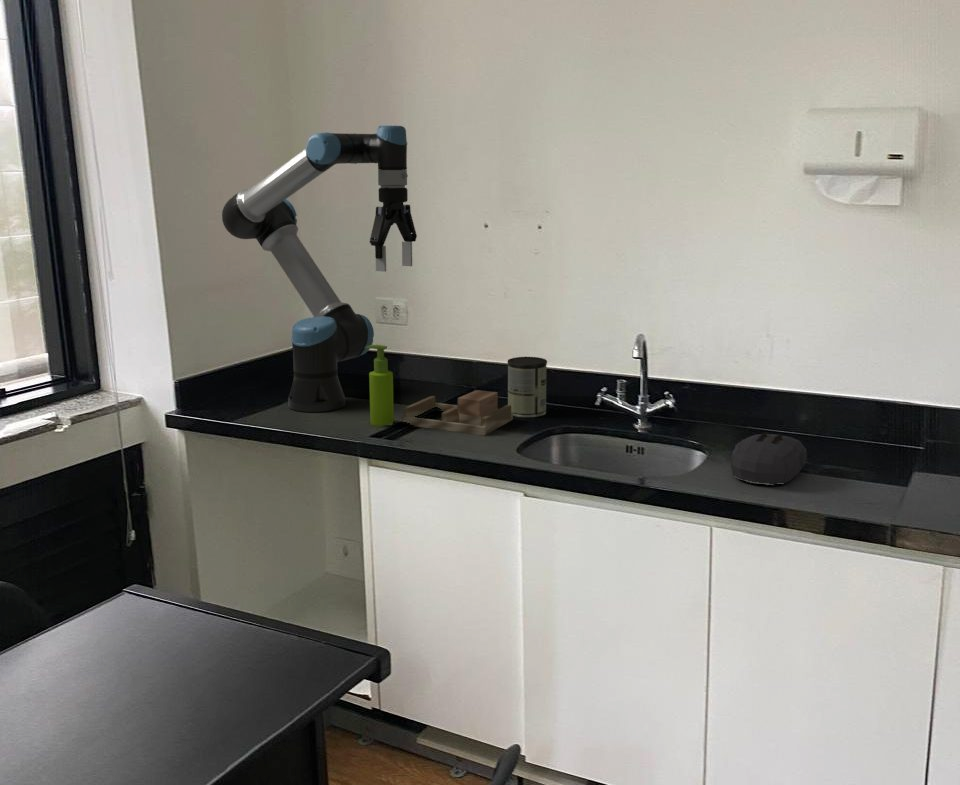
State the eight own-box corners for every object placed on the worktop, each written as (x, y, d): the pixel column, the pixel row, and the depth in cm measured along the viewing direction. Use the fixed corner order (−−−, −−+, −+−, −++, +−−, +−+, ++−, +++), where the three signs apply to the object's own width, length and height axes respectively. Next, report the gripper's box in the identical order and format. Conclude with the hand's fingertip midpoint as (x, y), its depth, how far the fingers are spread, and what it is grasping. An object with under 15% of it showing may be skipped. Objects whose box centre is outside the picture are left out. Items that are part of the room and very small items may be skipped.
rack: (401, 424, 256) (401, 409, 255) (433, 409, 270) (433, 395, 269) (484, 435, 246) (484, 419, 245) (512, 419, 260) (512, 404, 259)
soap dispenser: (372, 419, 261) (370, 342, 256) (397, 421, 258) (395, 344, 254) (362, 425, 255) (360, 346, 250) (388, 427, 253) (386, 348, 248)
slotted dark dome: (743, 457, 229) (717, 482, 212) (745, 422, 227) (720, 444, 210) (812, 468, 222) (791, 494, 205) (815, 431, 220) (794, 454, 203)
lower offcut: (459, 429, 252) (458, 414, 251) (476, 420, 261) (476, 405, 260) (480, 432, 249) (480, 416, 248) (497, 423, 258) (497, 407, 257)
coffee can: (508, 407, 273) (508, 356, 270) (546, 408, 272) (547, 356, 269) (505, 417, 263) (506, 363, 260) (545, 418, 262) (546, 364, 259)
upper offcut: (457, 413, 251) (457, 398, 250) (476, 405, 260) (476, 389, 259) (479, 416, 249) (479, 400, 248) (497, 407, 257) (497, 392, 256)
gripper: (380, 188, 251) (382, 274, 256) (428, 185, 273) (429, 264, 278) (354, 188, 255) (356, 272, 260) (404, 185, 276) (405, 263, 281)
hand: (394, 268), depth 269 cm, fingers open, 13 cm apart
